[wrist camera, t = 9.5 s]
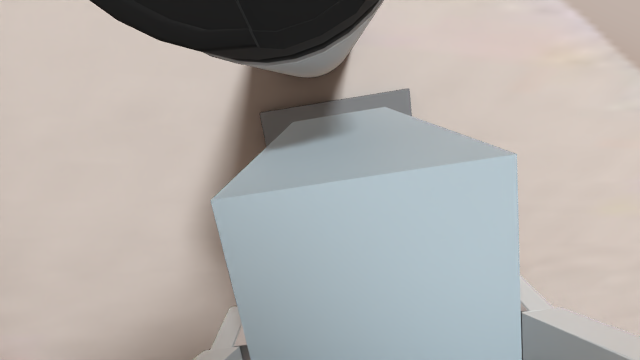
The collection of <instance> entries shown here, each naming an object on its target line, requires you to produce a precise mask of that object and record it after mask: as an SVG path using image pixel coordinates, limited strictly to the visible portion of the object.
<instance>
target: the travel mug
mask: <svg viewBox="0 0 640 360" xmlns="http://www.w3.org/2000/svg"><path fill="white" fill-rule="evenodd" d="M90 1H91V2H93V3H94V4H96V5H97V6H98V7H100V8H101V9H103V10H104V11H105V12H107V13H108V14H110V15H111V16H112V17H114V18H115V19H117V20H118V21H120V22H122V23H124V24H126V25H128V26H131V27H133V28H135V29H137V30H139V31H141V32H143V33H145V34H147V35H149V36H151V37H153V38H155V39H157V40H160V41H163V42H167V43H171V44H175V45H178V46H182V47H186V48H189V49H193V50H197V51H201V52H203V53H205V54H208V55H210V56H212V57H215V58H219V59H223V60H226V61H230V62H234V63H238V64H242V65H247V66H251V67H256V68H260V69H265V70H269V71H274V72H279V73H283V74H288V75H292V76H297V77H305V78H311V77H318V76H321V75H324V74H327V73H329V72H330V71H332V70H334V69H335V68H336V67H338V66H339V65H340V64H341V63H342V62H343V61H344V59H345V58H346V57H347V55H348V54H349V52H350V51H351V49H352V48H353V46H354V45H355V43H356V42H357V40H358V39H359V37H360V36H361V34H362V33H363V31H364V30H365V28H366V27H367V25H368V24H369V22H370V21H371V19H372V18H373V16H374V15H375V13H376V12H377V10H378V9H379V7H380V6H381V4H382V3H383V1H384V0H90Z"/></svg>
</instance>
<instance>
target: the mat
mask: <svg viewBox="0 0 640 360" xmlns="http://www.w3.org/2000/svg"><path fill="white" fill-rule="evenodd" d="M381 107H387V108H390V109H392V110H395V111H398V112H401V113H404V114H406V115H409V116H412V113H411V102H410V91H409V89H402V90H396V91H390V92H384V93H377V94H371V95H365V96H359V97H353V98H347V99H341V100H335V101H329V102H323V103H317V104H310V105H304V106H298V107H292V108H286V109H280V110H274V111H268V112H262V113H260V117H261V122H262V127H263V132H264V137H265V142H266V147H267V146H268V145H269V144H270V143H271V142H272V141H273V140H275V139H276V138H277V137H278V136H279V135H280V134H281V133H282V132H283V131H284V130H285V129H286V128H287V127H288V126H289V125H290V124H291V123H292V122H295V121H301V120H308V119H314V118H320V117H326V116H332V115H338V114H344V113H350V112H357V111H363V110H369V109H375V108H381Z"/></svg>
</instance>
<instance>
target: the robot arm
mask: <svg viewBox="0 0 640 360" xmlns="http://www.w3.org/2000/svg"><path fill="white" fill-rule="evenodd" d="M520 305H521V347H522V360H640V336H638V335H635V334H633V333H630V332H627V331H624V330H622V329H619V328H616V327H614V326H611V325H608V324H606V323H603V322H600V321H598V320H595V319H592V318H589V317H587V316H584V315H581V314H579V313H576V312H573V311H571V310H568V309H565V308H562V307H559V308H554V307H553V306H552V305H551V304H550V303H549V302H548V301H547V300H546V299H545V298H544V297H543V296H542V295H541V294H540V293H539V292H538V291H537V290H536V289H534V288H533V287H532V286H531V285H530V284H529V283H528V282H527V281H526V280H525V279H524V278H523V277H522V276H521V275H520ZM193 360H251V359H250V355H249V351H248V347H247V343H246V339H245V335H244V331H243V327H242V323H241V319H240V315H239V311H238V307H237V306H233V307H231V308H229V310H228V312H227V314H226V316H225V319H224V321H223V323H222V325H221V327H220V329H219V332H218V334H217V336H216V338H215V340H214V342H213V345H212V347H211V349H210V350H205V351H203V352H202V353H200V354H199V355H198V356H197V357H195V358H194V359H193Z"/></svg>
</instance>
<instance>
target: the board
mask: <svg viewBox="0 0 640 360" xmlns="http://www.w3.org/2000/svg"><path fill="white" fill-rule="evenodd" d="M211 204H212V208H213V212H214V216H215V220H216V224H217V228H218V232H219V236H220V240H221V244H222V248H223V252H224V256H225V260H226V264H227V268H228V272H229V276H230V279H231V283H232V287H233V291H234V295H235V299H236V303H237V307H238V311H239V315H240V319H241V323H242V327H243V331H244V335H245V339H246V343H247V347H248V351H249V355H250V359H251V360H522V347H521V305H520V264H519V223H518V182H517V154H515V153H512V152H509V151H507V150H504V149H501V148H498V147H496V146H493V145H490V144H487V143H484V142H482V141H479V140H476V139H473V138H470V137H468V136H465V135H462V134H459V133H457V132H454V131H451V130H448V129H445V128H443V127H440V126H437V125H434V124H431V123H429V122H426V121H423V120H420V119H418V118H415V117H412V116H409V115H406V114H404V113H401V112H398V111H395V110H392V109H390V108H387V107H381V108H375V109H369V110H363V111H357V112H350V113H344V114H338V115H332V116H326V117H320V118H314V119H308V120H301V121H295V122H292V123H291V124H290V125H289V126H288V127H287V128H286V129H285V130H284V131H283V132H282V133H281V134H280V135H279V136H278V137H277V138H276V139H275V140H273V141H272V142H271V143H270V144H269V145H268V146H267V147H266V148H265V149H264V150H263V151H262V152H261V153H260V154H259V155H258V156H257V157H256V158H255V159H253V160H252V161H251V162H250V163H249V164H248V165H247V166H246V167H245V168H244V169H243V170H242V171H241V172H240V173H239V174H238V175H237V176H236V177H235V178H233V179H232V180H231V181H230V182H229V183H228V184H227V185H226V186H225V187H224V188H223V189H222V190H221V191H220V192H219V193H218V194H217V195H216V196H214V197H213V198H212V199H211Z"/></svg>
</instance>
